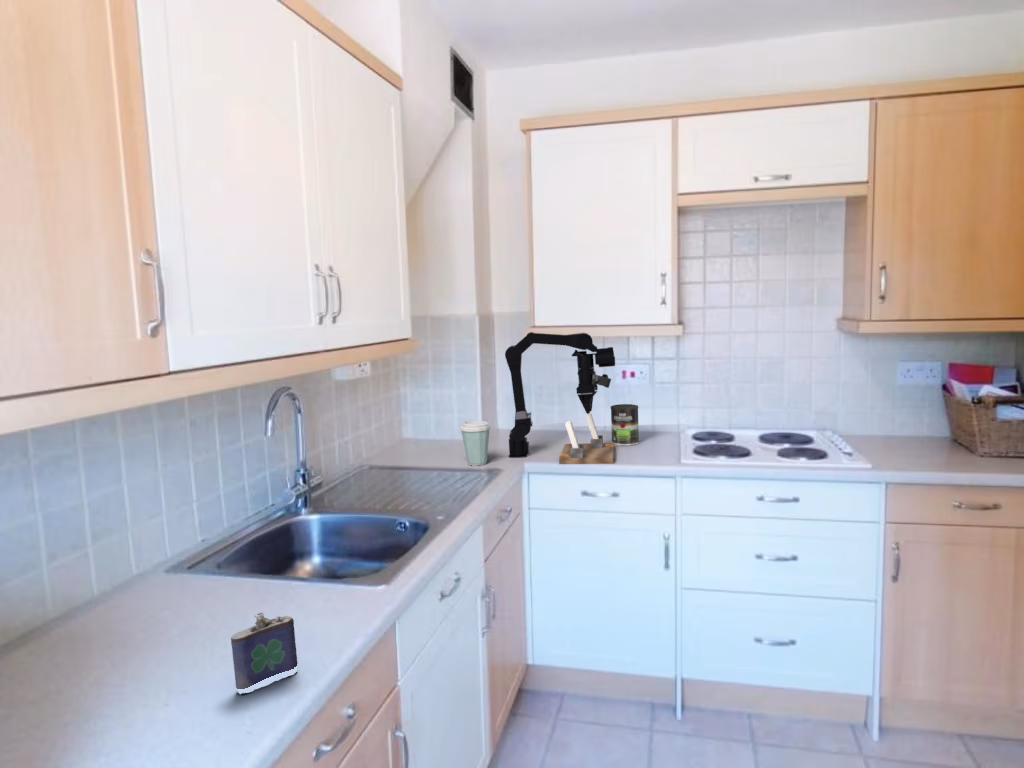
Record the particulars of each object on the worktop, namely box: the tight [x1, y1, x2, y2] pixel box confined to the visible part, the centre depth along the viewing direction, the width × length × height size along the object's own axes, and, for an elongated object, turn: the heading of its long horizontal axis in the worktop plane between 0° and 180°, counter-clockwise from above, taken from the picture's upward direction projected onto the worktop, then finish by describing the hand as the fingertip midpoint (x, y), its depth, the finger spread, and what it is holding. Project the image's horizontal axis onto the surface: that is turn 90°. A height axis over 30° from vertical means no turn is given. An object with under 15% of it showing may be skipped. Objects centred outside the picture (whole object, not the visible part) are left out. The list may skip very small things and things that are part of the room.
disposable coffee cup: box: [459, 420, 491, 467], centre depth 226 cm, size 11×11×15 cm
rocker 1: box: [564, 420, 580, 448], centre depth 223 cm, size 2×4×12 cm, turn 170°
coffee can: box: [610, 403, 640, 447], centre depth 246 cm, size 10×10×14 cm
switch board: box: [558, 434, 615, 465], centre depth 229 cm, size 18×22×5 cm
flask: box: [230, 612, 299, 689], centre depth 99 cm, size 9×3×11 cm, turn 129°
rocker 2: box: [585, 412, 600, 439], centre depth 235 cm, size 2×4×12 cm, turn 170°
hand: (589, 412), depth 231 cm, fingers open, 9 cm apart
